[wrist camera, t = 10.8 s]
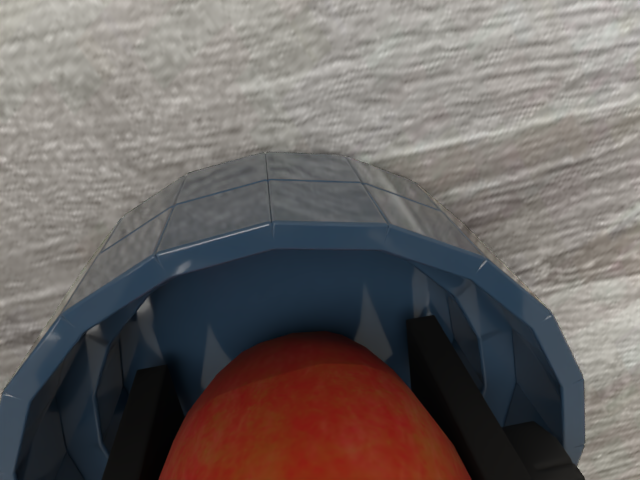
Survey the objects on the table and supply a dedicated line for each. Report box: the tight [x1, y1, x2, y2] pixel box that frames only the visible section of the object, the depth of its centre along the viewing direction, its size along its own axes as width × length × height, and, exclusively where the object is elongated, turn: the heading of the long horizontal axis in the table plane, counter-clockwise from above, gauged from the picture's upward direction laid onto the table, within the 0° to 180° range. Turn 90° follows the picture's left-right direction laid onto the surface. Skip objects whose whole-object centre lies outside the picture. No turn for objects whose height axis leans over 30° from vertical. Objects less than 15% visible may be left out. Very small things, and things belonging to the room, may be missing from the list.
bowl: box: [0, 152, 585, 480], centre depth 13 cm, size 12×12×5 cm
